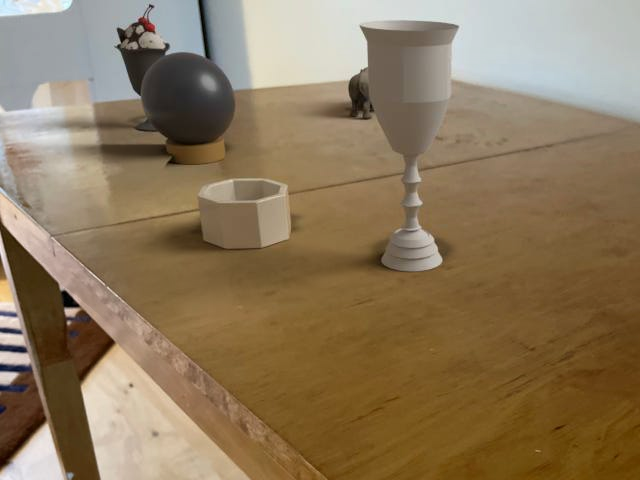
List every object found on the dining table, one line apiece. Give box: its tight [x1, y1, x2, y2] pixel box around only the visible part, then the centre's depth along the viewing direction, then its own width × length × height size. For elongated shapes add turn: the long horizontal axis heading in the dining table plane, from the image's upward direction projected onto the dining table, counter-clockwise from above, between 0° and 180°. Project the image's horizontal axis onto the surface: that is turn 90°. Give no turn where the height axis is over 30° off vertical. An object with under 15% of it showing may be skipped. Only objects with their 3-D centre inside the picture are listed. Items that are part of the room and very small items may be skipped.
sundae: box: [113, 3, 171, 132], centre depth 100 cm, size 7×7×15 cm
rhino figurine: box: [347, 66, 374, 119], centre depth 117 cm, size 4×14×6 cm, turn 179°
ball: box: [140, 51, 236, 165], centre depth 88 cm, size 10×10×12 cm
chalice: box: [358, 19, 460, 272], centre depth 60 cm, size 7×7×18 cm
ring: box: [196, 177, 292, 250], centre depth 68 cm, size 7×7×4 cm
